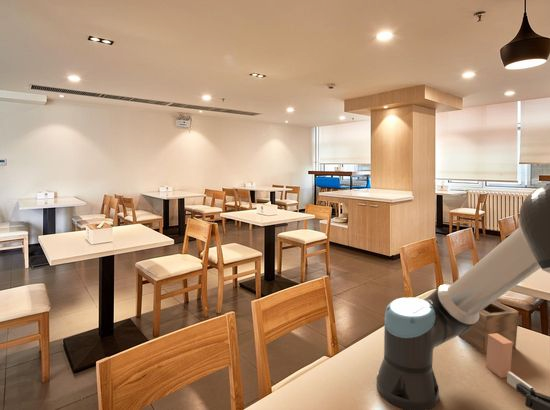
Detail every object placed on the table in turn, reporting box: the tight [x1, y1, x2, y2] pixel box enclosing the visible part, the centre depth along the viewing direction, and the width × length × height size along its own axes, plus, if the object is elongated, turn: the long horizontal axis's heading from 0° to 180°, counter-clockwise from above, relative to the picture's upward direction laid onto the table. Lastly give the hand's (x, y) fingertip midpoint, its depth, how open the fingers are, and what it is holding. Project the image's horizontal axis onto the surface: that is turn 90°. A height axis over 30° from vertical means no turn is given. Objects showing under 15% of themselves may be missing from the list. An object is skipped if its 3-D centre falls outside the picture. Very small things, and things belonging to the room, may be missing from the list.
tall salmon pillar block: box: [485, 333, 513, 379], centre depth 92 cm, size 3×5×10 cm, turn 11°
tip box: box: [458, 300, 519, 353], centre depth 107 cm, size 12×11×12 cm
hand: (531, 372), depth 83 cm, fingers open, 13 cm apart
